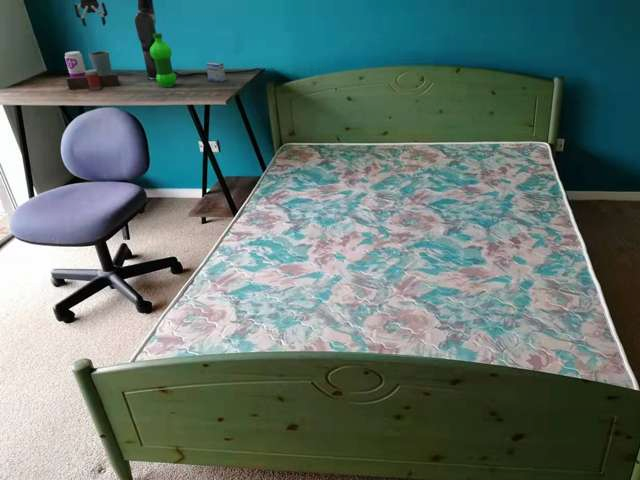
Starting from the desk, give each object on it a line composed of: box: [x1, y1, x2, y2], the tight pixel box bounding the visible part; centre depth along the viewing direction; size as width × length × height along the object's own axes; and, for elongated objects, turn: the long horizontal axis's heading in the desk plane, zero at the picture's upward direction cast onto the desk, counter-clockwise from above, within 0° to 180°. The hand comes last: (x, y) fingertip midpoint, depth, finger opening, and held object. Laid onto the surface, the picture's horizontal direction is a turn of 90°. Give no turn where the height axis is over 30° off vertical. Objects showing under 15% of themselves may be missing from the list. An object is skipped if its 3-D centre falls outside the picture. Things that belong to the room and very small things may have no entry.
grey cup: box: [88, 50, 113, 75], centre depth 324 cm, size 10×10×12 cm
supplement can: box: [64, 50, 87, 78], centre depth 311 cm, size 8×8×15 cm
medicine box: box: [205, 61, 226, 83], centre depth 310 cm, size 8×4×9 cm, turn 68°
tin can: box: [85, 68, 103, 91], centre depth 301 cm, size 6×6×9 cm
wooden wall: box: [65, 72, 121, 91], centre depth 306 cm, size 24×4×6 cm, turn 107°
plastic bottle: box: [150, 32, 177, 88], centre depth 299 cm, size 10×10×25 cm
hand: (95, 25), depth 297 cm, fingers open, 8 cm apart
